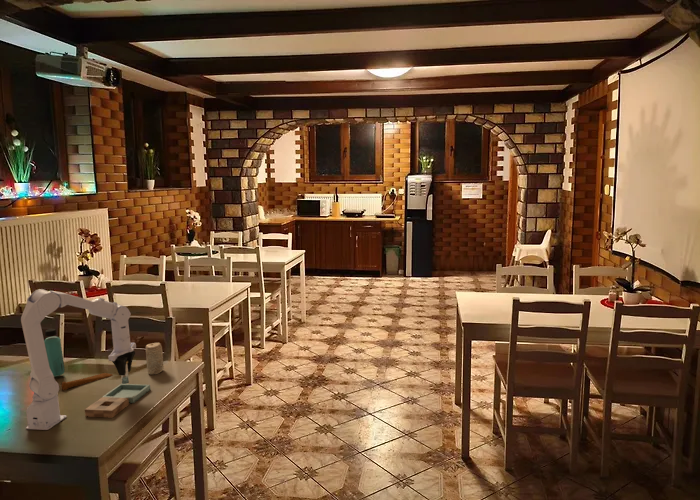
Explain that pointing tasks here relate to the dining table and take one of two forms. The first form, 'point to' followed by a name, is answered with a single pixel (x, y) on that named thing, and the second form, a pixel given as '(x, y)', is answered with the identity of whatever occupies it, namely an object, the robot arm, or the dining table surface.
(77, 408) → the dining table surface
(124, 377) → the pin
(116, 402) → the socket block
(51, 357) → the beverage bottle
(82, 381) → the primitive tool
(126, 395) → the tray
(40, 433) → the dining table surface
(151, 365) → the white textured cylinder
